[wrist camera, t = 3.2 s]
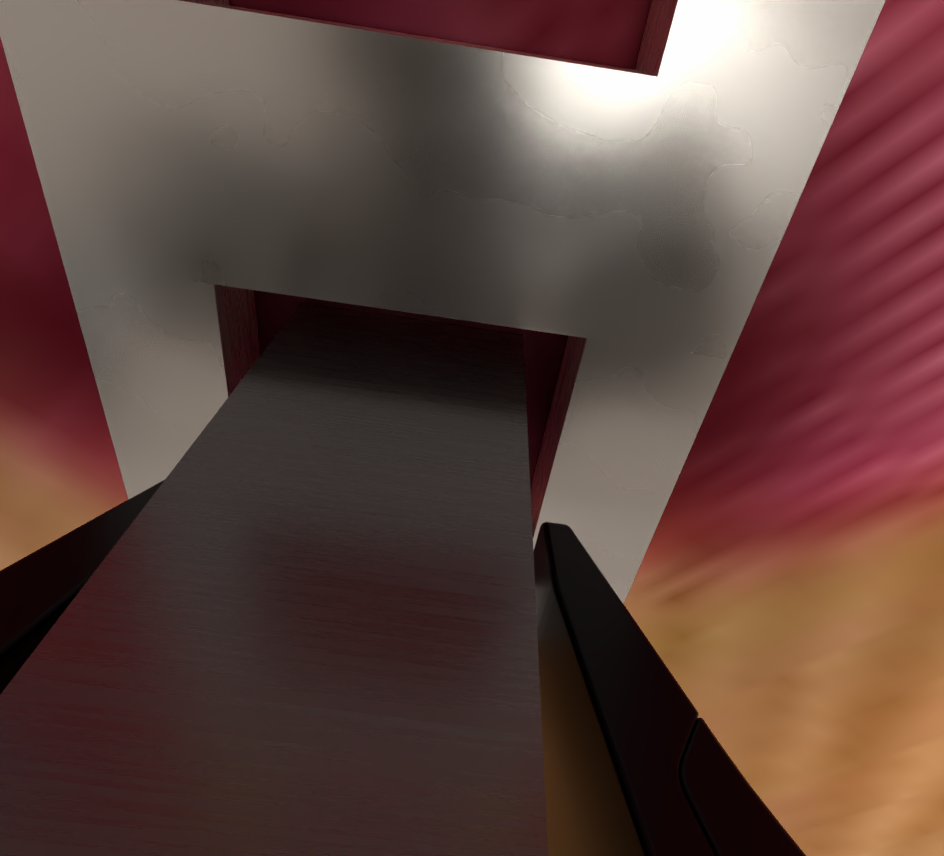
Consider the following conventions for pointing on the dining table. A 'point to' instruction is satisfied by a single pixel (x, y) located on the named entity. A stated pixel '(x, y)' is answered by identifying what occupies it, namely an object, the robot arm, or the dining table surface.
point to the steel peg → (306, 623)
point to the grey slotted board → (430, 208)
